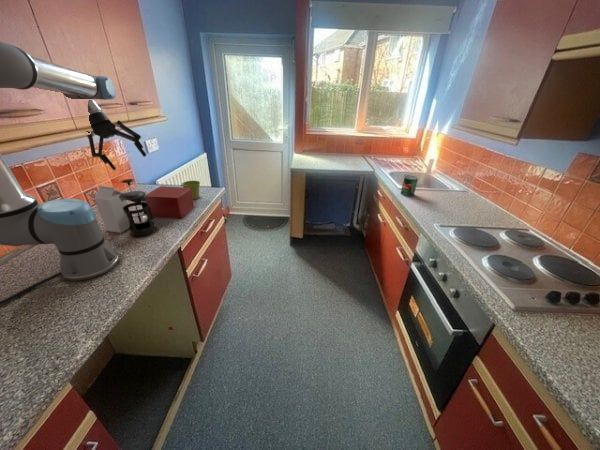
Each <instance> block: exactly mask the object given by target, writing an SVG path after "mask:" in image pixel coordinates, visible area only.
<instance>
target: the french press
mask: <svg viewBox="0 0 600 450" xmlns="http://www.w3.org/2000/svg"><path fill="white" fill-rule="evenodd" d="M133 182H135V179H134V178H126V179H123V180H122V181H121V183H123V184H127V186H128V187H129V190H130V191H127V192H124V193H123V194H121V195H120V196H119V198H120V199H121V201H122V202H123V200H126V201H130V202H131V203H127V205H126V206H124V207H123V211H124V213H126V214H127V217H128V222H129V223H130V227H129V228H128V229H129V232H130V236H131V237H132V238H136V239H137V238H146V237H149V236H151V235H153V234H155V233H156V232H157V228H156V225H155V223H154V221H153V219H154V217H152V214H151V210H150V207H149V203H148V201H144V200H145V199H146V198H145V195H146V194H147V193H146V192H145V191H142V190H134V191H133V190H132V187H131V183H133ZM138 206H141V208H140V209H138ZM132 207H135V210H130V208H132ZM133 215H134V216H133Z"/></svg>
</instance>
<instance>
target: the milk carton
mask: <svg viewBox="0 0 600 450" xmlns="http://www.w3.org/2000/svg"><path fill="white" fill-rule="evenodd" d="M121 194H124V193H123V192H122V191H121V192H120V191H119V190H117V188H115V187H113V186H105V185H98V190H97V192H96V194H95V196H94V201H95V204H96V207H97V210H98V211H99V214H100V218H101V219H102V222H103V224H104V227H105V229H106V232H114V233H120V234H122V233H124V232H125V231H127V230H128V229H129V227H130V223H129V222H128V217H127V214H126V213H124V211H123V207H124V206H126V205H128V202H127V200H123V202H122V201H121V199H120V198H119V196H120V195H121Z"/></svg>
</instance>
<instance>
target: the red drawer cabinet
mask: <svg viewBox="0 0 600 450" xmlns="http://www.w3.org/2000/svg"><path fill="white" fill-rule="evenodd" d="M156 188H157V189H156ZM156 188H155V189H153V190H152V192H151V191H150V192H148V194H147V193H146V194H147V195H145V198H146V199H145V201H148V203H149V207H150V210H151V214H152V218H164V219H179V220H180V219H181V220H182V219H183V218H184V217H185V216H187V214H188V213H190V212H191V211H192V210H193V209H194V208H195V204H194V200H193V197H192V192H191V188H185V187H183V186H165V185H161V186H158V187H156Z"/></svg>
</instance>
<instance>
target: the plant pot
mask: <svg viewBox="0 0 600 450" xmlns="http://www.w3.org/2000/svg"><path fill="white" fill-rule="evenodd" d="M200 184H201V181H200V180H187V181H186V180H185V181H183V182H182V183H181V186H182V187H185V188H191V192H192V197H193V201H194V200H197V199H199V198H200V186H201V185H200Z"/></svg>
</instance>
